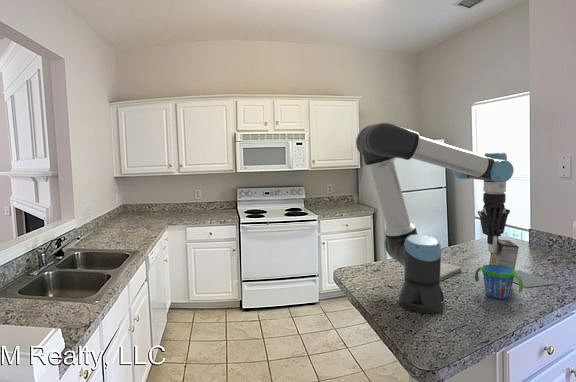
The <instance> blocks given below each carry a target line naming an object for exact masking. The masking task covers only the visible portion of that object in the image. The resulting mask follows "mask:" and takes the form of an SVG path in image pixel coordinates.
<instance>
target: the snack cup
mask: <svg viewBox="0 0 576 382" xmlns="http://www.w3.org/2000/svg"><path fill="white" fill-rule="evenodd" d="M480 271H481V272H482V274H483V275H482V276H483V283H484V290H485V294H486V295H487V296H488V297H490V298H493V299H498V300H506V299H509V298H510V296H511V291H512V288H513V284H514V282H513V279H514V277H516V278H517V279H518V280H519V284H520V285H519V286H518V287H519V288H518V293H519V294H521V293H522V291H523V289H524V287H523V282H522V279H521V277H520V276H519V275H518V274H517V273H516V272H515V271H516V269H515V270H514V269H513V268H510V267H507V266H503V265H494V264H490V265H489V264H484V265H482V266H480V267H478V268H477V269H476V271H475V273H474V280H475V282H476V283H477V282H479V281H480V277H479V272H480Z"/></svg>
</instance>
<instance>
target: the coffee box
mask: <svg viewBox="0 0 576 382" xmlns="http://www.w3.org/2000/svg"><path fill="white" fill-rule="evenodd" d="M519 247H520V246H518V245H517V244H516V243H514V242H512V241H511V240H507V239H499V238H498V244H497V253H492V252H490V257H489V262H488V265H490V264H494V265H503V266H507V267H510V268H513V269H514V270H515V271H516V263H517V259H518V253H519Z"/></svg>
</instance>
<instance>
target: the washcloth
mask: <svg viewBox="0 0 576 382" xmlns="http://www.w3.org/2000/svg"><path fill="white" fill-rule="evenodd" d="M462 272H463V271H462V267H461V266H459V265H455V264H454V265H452V264H450V263H447V262H443V261H441V266H440V282H442V281H444V280H446V279H448V278H450V277H452V276H454V275H456V274H460V273H462Z"/></svg>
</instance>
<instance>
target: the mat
mask: <svg viewBox="0 0 576 382" xmlns="http://www.w3.org/2000/svg"><path fill="white" fill-rule="evenodd" d="M515 272H516V273H517V274H518V275H519V276H520V277H521V279H522V282H523V288H525V289H530V288H537V287H543V286H544V287H545V286H553V285H555V283H553V282H551V281H549V280H546V279H544V278H541V277H538V276H536V275H533V274H530V273H528V272H525V271H523V270H515ZM513 284H516V285H519V286H520V284H519V280H518V279H517V278H516V277H514V279H513Z"/></svg>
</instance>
